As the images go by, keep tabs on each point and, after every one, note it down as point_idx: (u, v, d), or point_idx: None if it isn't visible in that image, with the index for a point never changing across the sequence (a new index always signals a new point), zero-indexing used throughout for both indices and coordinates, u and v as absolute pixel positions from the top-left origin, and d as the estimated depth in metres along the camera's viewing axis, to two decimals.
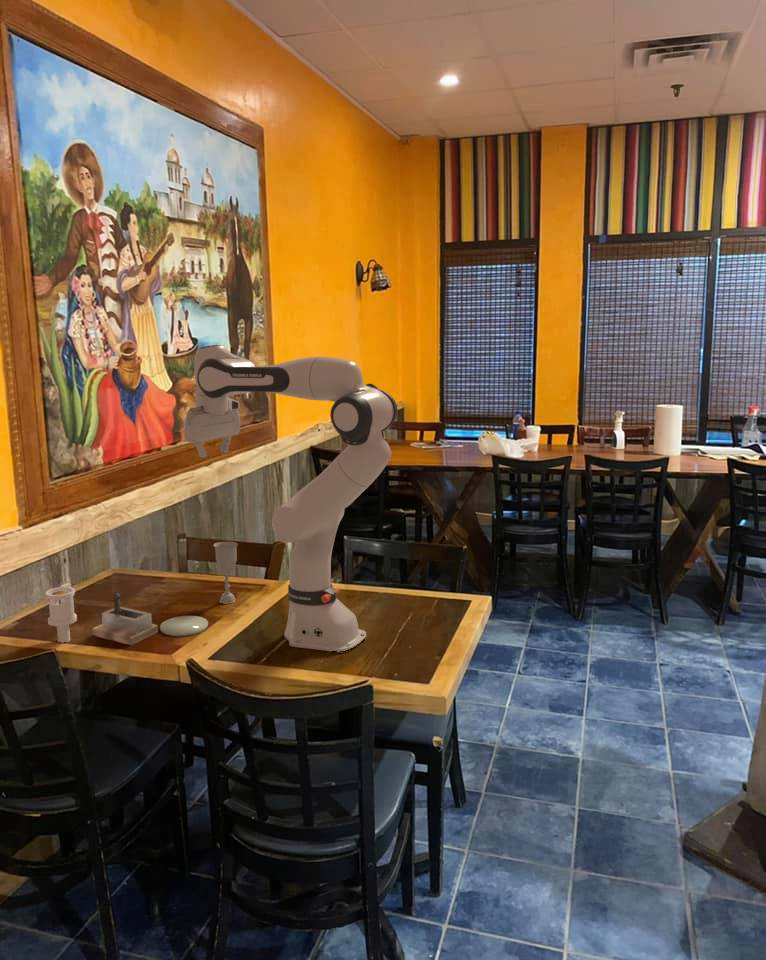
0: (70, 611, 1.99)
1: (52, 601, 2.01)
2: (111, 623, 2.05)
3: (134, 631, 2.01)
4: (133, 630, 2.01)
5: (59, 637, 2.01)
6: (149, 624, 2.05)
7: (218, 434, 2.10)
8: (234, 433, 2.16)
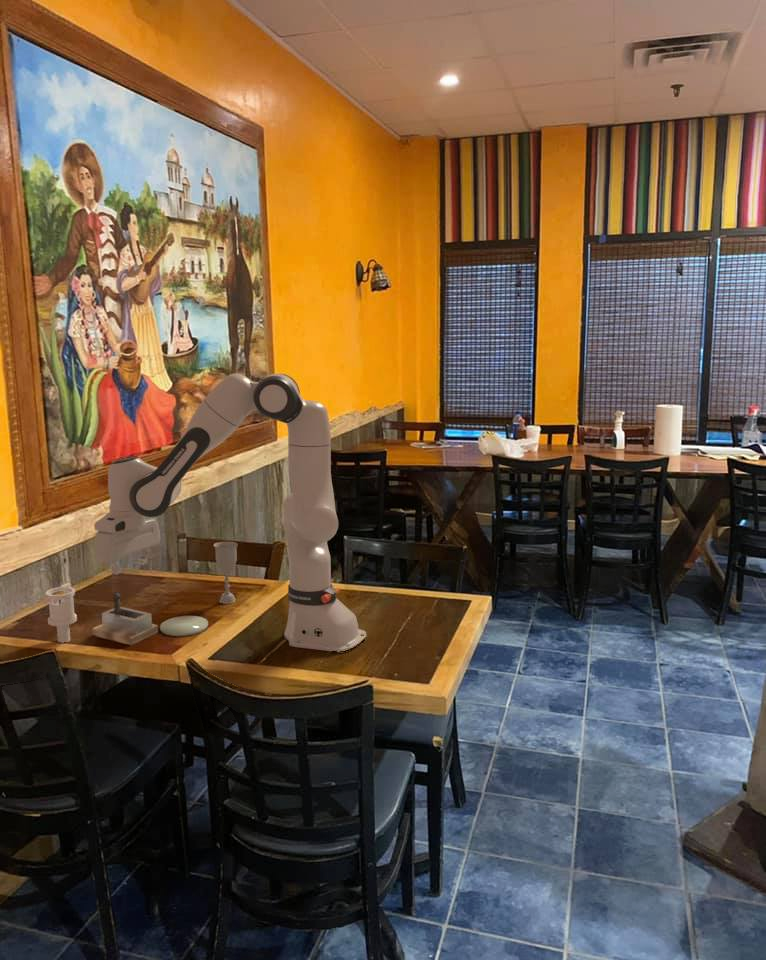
0: (70, 611, 1.99)
1: (52, 601, 2.01)
2: (111, 623, 2.05)
3: (134, 631, 2.01)
4: (133, 630, 2.01)
5: (59, 637, 2.01)
6: (149, 624, 2.05)
7: None
8: None
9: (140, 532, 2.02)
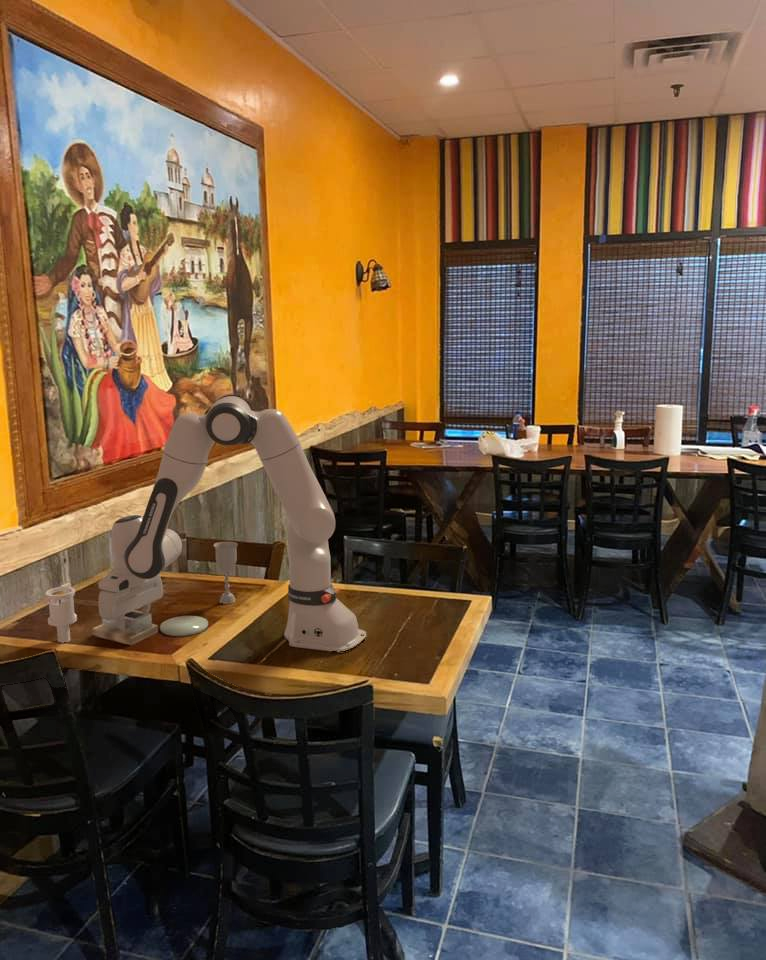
0: (70, 611, 1.99)
1: (52, 601, 2.01)
2: (111, 623, 2.05)
3: (134, 631, 2.01)
4: (133, 630, 2.01)
5: (59, 637, 2.01)
6: (149, 624, 2.05)
7: None
8: None
9: (143, 588, 2.05)
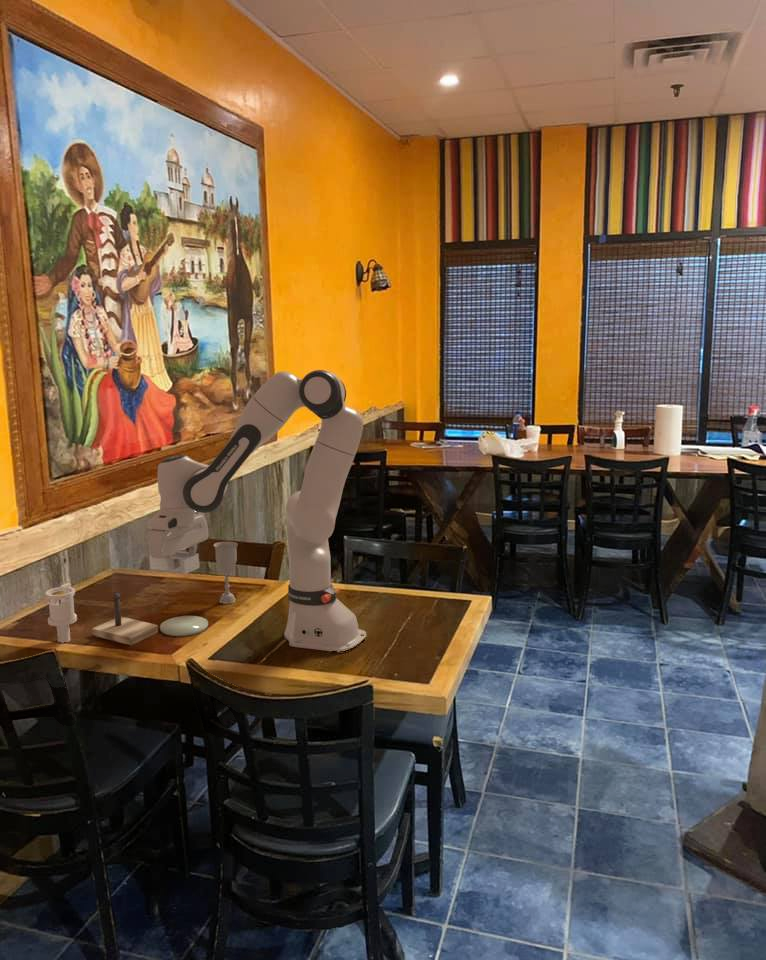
0: (70, 611, 1.99)
1: (52, 601, 2.01)
2: (159, 564, 2.06)
3: (182, 571, 2.02)
4: (182, 569, 2.02)
5: (59, 637, 2.01)
6: (197, 564, 2.07)
7: None
8: None
9: (190, 528, 2.06)
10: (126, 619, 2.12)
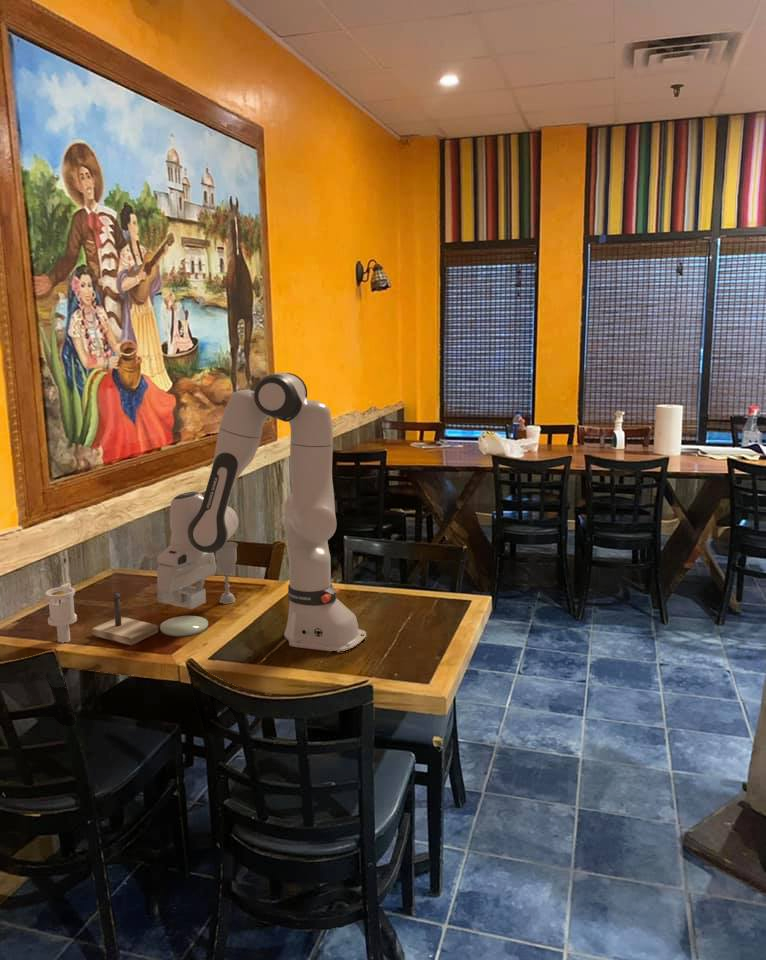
0: (70, 611, 1.99)
1: (52, 601, 2.01)
2: (166, 597, 2.09)
3: (189, 606, 2.06)
4: (189, 604, 2.06)
5: (59, 637, 2.01)
6: (203, 599, 2.10)
7: None
8: None
9: (198, 564, 2.09)
10: (126, 619, 2.12)
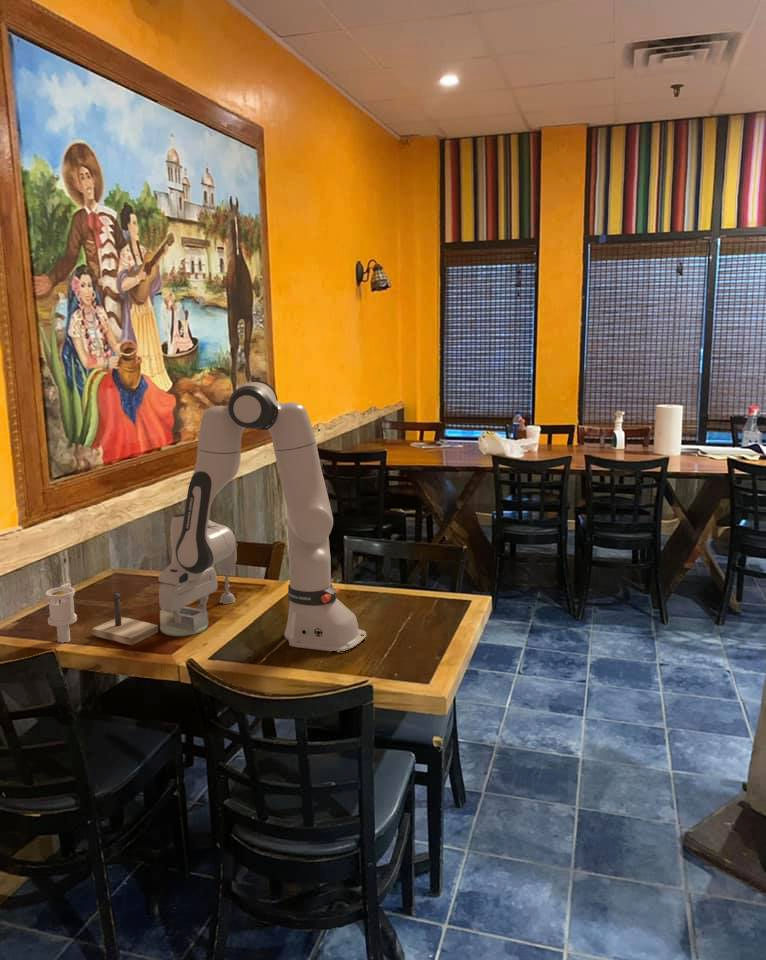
0: (70, 611, 1.99)
1: (52, 601, 2.01)
2: (169, 620, 2.10)
3: (192, 628, 2.07)
4: (191, 627, 2.07)
5: (59, 637, 2.01)
6: (206, 621, 2.11)
7: None
8: None
9: (200, 581, 2.10)
10: (126, 619, 2.12)
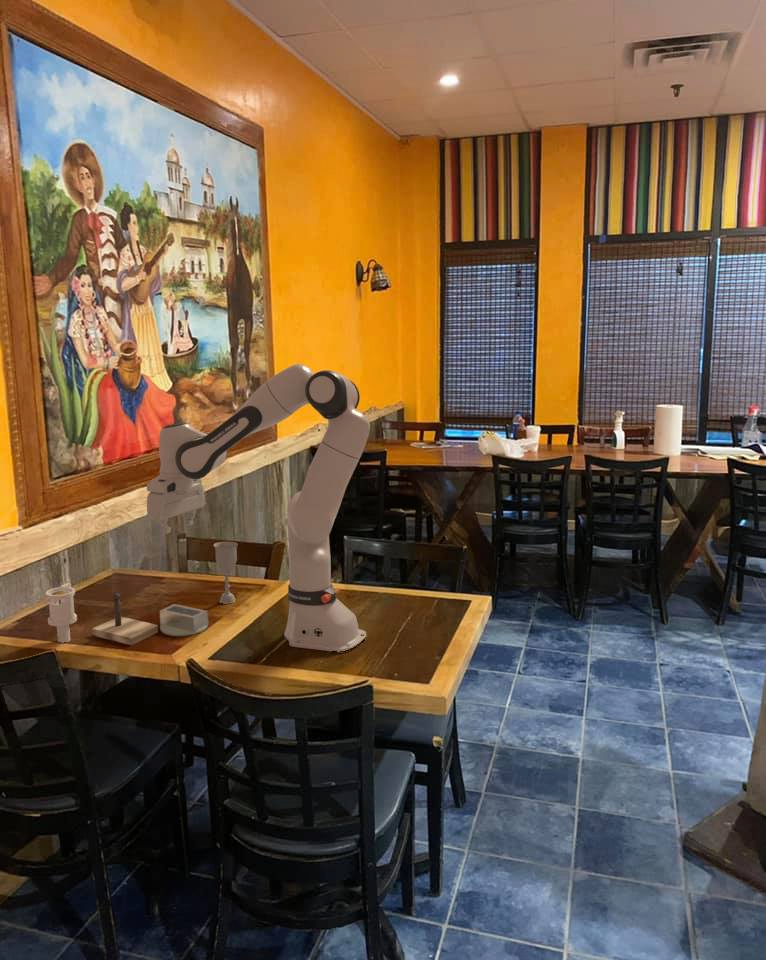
0: (70, 611, 1.99)
1: (52, 601, 2.01)
2: (169, 620, 2.10)
3: (192, 628, 2.07)
4: (191, 627, 2.07)
5: (59, 637, 2.01)
6: (206, 621, 2.11)
7: None
8: None
9: (187, 494, 2.13)
10: (126, 619, 2.12)
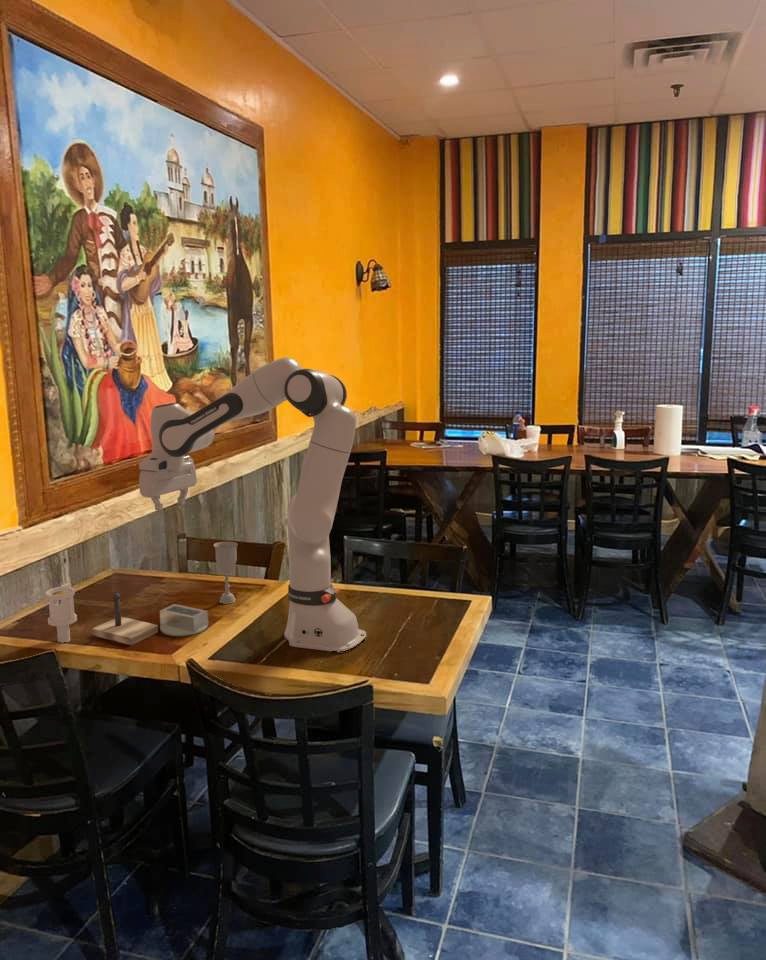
0: (70, 611, 1.99)
1: (52, 601, 2.01)
2: (169, 620, 2.10)
3: (192, 628, 2.07)
4: (191, 627, 2.07)
5: (59, 637, 2.01)
6: (206, 621, 2.11)
7: None
8: None
9: (179, 473, 2.20)
10: (126, 619, 2.12)
